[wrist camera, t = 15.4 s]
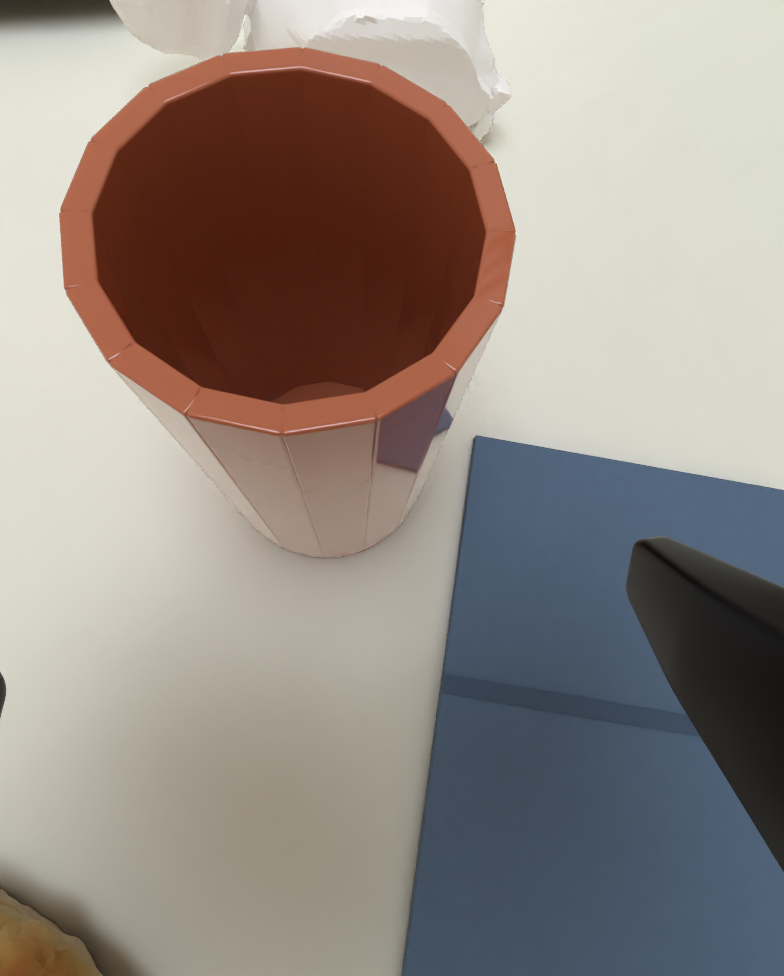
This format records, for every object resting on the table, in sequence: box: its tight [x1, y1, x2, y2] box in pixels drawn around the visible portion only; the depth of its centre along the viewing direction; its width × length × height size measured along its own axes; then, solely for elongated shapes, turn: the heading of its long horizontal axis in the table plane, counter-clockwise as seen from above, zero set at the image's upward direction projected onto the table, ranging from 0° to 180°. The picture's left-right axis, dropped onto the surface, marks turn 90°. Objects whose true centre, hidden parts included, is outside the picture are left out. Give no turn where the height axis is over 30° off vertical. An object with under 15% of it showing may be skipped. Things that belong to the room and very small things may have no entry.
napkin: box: [402, 436, 784, 976], centre depth 20 cm, size 18×12×1 cm, turn 171°
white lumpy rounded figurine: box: [109, 0, 511, 142], centre depth 22 cm, size 9×8×15 cm
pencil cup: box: [59, 47, 516, 558], centre depth 15 cm, size 7×7×13 cm
